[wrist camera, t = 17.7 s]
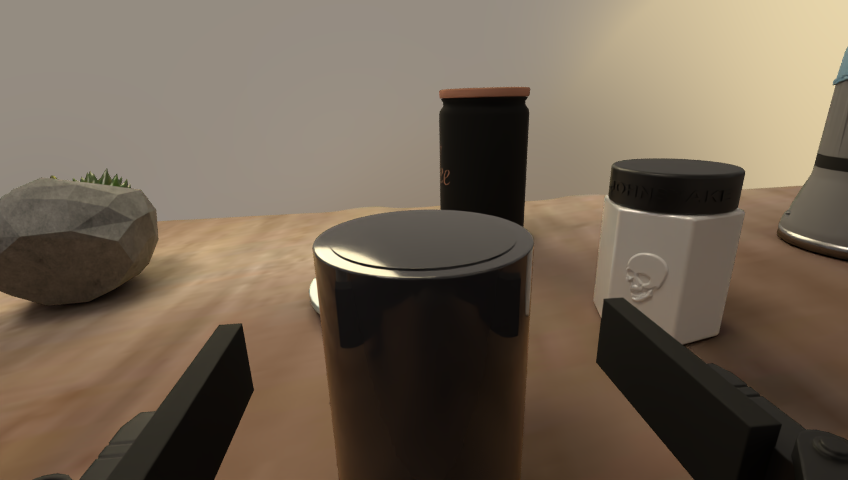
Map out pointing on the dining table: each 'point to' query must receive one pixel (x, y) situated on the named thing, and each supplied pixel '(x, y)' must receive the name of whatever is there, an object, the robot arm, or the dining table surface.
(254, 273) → the dining table surface
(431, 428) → the dark glossy canister
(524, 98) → the coffee jar
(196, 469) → the robot arm
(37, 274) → the potted plant
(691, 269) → the jar
